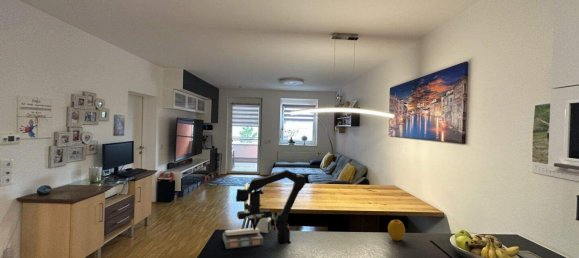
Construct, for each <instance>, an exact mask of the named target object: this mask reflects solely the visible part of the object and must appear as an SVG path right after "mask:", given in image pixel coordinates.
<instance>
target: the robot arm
mask: <svg viewBox="0 0 579 258" xmlns="http://www.w3.org/2000/svg"><path fill="white" fill-rule="evenodd" d="M283 179H284V180H285V179H288V180H290V181H291V182H292V183H293V184H292V188H291V190H290V193H289V196H288V197H287V199H286V202H285V204H284V205H283V208H282V210H281V211H280V212H277V213H276V216H275V217H274V223H275V227H276V229H277V233H276V242H277V243H278V244H279V245H283V244H290V243H291V240H290V239H291V235H290V234H291V231H290V226H289V223H288V220H289V214H290V212H291V210H292V208H293V205H294V203H295V201H296V199H297V197H298V195H299V193H300V192H301V190H302V189H303V188H304V187H305V186H306V183H307V180H306V178H305V176H304V175H303V174H301V173H300V174H297V173H295V172H292V171H291V170H289V169H285V170H283V171H279V172H276V173H273V174H271V175H268V176H265V177H264V176H263V177H256V178H253V179H251V181H250V183H249V186H248V187H247V188H245V189H243V188H241V189H240V188H237V190H236V196H235V202H236V203H237V202H241V203H242V202H243V203H244V210H245V211H247V212H245V211H244V210H242V211H239V210H238V211H237V212H236V217H237V219H238V220H245V219H246V218H247V220H249V221H250V224H251V225H252V228H253V229H254V230H255V229H256V228H257V224H258V222H259V221H260V219H262V217H261V216H262V215H265V216H266V217H269V218H271V217H272V216H273V212H272V211H271V210H270V209H269V208H268V209H262V211H263V212H260V211H261V195H264V191H263V190H262V188H263V187H265V186H267V185H270V184H272V183H275V182H277V181H281V180H283ZM247 201H249V203H246V202H247Z"/></svg>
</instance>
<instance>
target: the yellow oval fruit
mask: <svg viewBox="0 0 579 258" xmlns="http://www.w3.org/2000/svg"><path fill="white" fill-rule="evenodd" d="M387 232H388V235H389V237H391V238H390V239H392V240H394V241H397V242H398V241H401V240H402V239H403V238H404V237H405V233H406V227H405V225H404V223H403V222H402V221H401V220H399V219H393V220H390V222H389V223H388V225H387Z"/></svg>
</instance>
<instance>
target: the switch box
mask: <svg viewBox="0 0 579 258" xmlns="http://www.w3.org/2000/svg"><path fill="white" fill-rule="evenodd" d="M222 240H223V243H224V246H225V249H226V250H228V249H236V248H237V249H238V248H246V247H255V246H263V245H264V237H263V236H262V234H261V232H258V233H254V234H244V235H234V236H227V235H226V234H225V232H223V233H222Z"/></svg>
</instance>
